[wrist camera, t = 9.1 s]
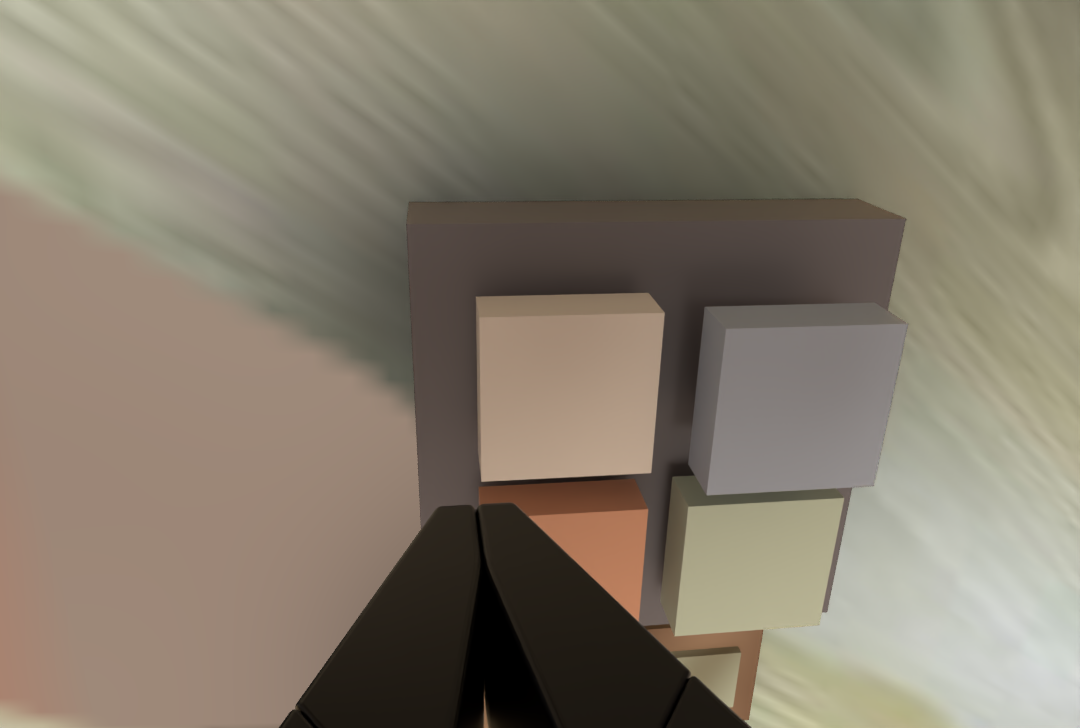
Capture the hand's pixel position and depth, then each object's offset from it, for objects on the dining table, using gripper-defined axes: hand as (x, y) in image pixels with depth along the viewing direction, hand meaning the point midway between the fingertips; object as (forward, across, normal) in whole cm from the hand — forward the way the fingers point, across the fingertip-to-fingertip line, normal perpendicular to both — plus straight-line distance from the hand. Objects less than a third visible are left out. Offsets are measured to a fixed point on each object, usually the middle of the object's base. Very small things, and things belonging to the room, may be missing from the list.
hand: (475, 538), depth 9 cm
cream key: (+13, -2, +2) cm, 13 cm away
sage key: (+13, -7, +7) cm, 17 cm away
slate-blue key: (+12, -8, +2) cm, 14 cm away
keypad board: (+13, -5, +5) cm, 15 cm away
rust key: (+13, -2, +7) cm, 15 cm away
